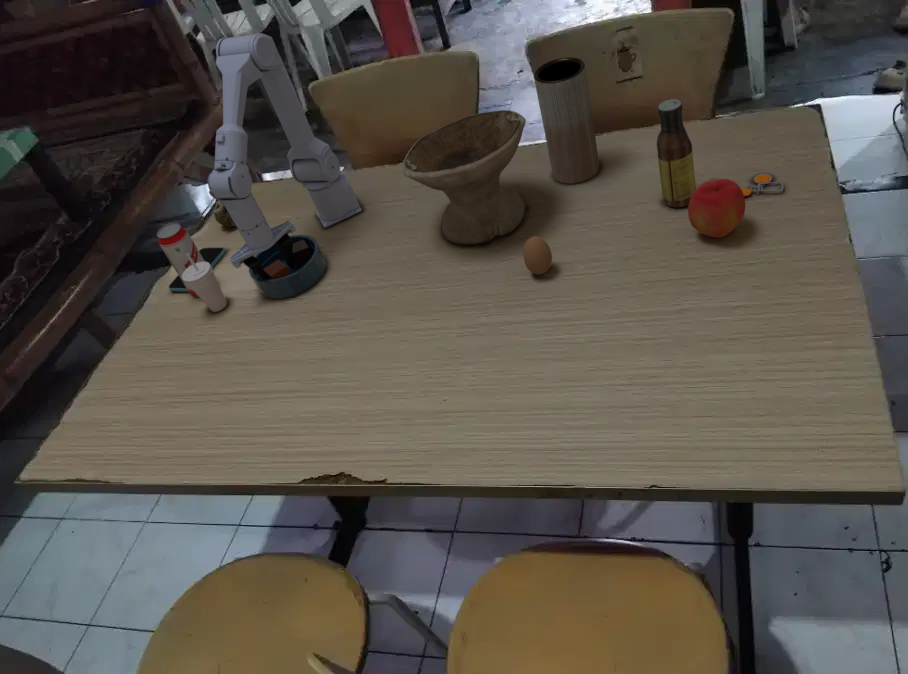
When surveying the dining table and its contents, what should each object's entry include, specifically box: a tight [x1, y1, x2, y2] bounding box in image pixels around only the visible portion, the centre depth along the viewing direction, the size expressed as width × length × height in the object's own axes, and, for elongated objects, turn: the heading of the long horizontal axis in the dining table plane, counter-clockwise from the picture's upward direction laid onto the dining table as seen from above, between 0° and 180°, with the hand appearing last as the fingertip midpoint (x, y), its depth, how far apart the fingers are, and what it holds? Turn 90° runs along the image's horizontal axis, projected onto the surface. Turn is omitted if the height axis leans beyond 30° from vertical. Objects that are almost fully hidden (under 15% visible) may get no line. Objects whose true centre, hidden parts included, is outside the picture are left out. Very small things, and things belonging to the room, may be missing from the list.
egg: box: [522, 236, 553, 275], centre depth 135 cm, size 5×5×8 cm
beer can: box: [156, 222, 205, 297], centre depth 157 cm, size 6×6×16 cm
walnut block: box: [293, 240, 312, 270], centre depth 158 cm, size 4×4×4 cm
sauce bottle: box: [656, 98, 697, 208], centre depth 135 cm, size 6×6×20 cm
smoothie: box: [182, 253, 228, 313], centre depth 152 cm, size 6×6×14 cm
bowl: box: [401, 109, 527, 246], centre depth 147 cm, size 26×25×20 cm
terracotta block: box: [264, 260, 291, 280], centre depth 155 cm, size 4×4×4 cm
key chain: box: [712, 173, 785, 197], centre depth 138 cm, size 13×7×1 cm, turn 76°
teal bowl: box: [248, 234, 327, 300], centre depth 156 cm, size 15×15×5 cm
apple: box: [687, 178, 746, 238], centre depth 129 cm, size 10×10×10 cm
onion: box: [212, 199, 237, 228], centre depth 178 cm, size 8×8×8 cm
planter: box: [533, 56, 600, 184], centre depth 150 cm, size 10×10×23 cm
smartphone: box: [167, 247, 226, 292], centre depth 169 cm, size 7×1×15 cm
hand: (280, 275), depth 155 cm, fingers open, 5 cm apart
